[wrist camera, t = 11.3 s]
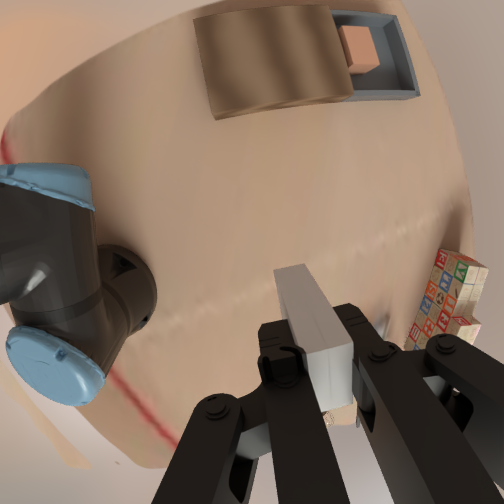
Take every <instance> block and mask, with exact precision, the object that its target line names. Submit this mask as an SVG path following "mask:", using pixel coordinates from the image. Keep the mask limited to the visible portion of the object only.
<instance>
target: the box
mask: <svg viewBox="0 0 504 504" xmlns="http://www.w3.org/2000/svg"><path fill="white" fill-rule="evenodd" d="M330 11H331V14H332V17H333V20H334V23H335V26H336V29H337V31H338V30H339V28H340V27H341V26H361V27H368V28H369V31H370V34H371V37H372V40H373V43H374V46H375V49H376V53H377V56H378V59H379V63H380V65H378V66H377V67H375V68H373V69H372V70H370V71H368V72H367V73H365V74H363V75H350V77H351V81H352V85H353V90H354V95H352V96H350V97H348V98H346V99H344V100H342V101H340V102H349V101H370V100H407V99H411V98H415V97H418V96H420V91H419V87H418V83H417V79H416V75H415V71H414V68H413V64H412V61H411V57H410V54H409V51H408V48H407V44H406V41H405V38H404V35H403V33H402V30H401V27H400V24H399V22H398V19H397V16H396V15H389V14H381V13H373V12H362V11H348V10H330Z"/></svg>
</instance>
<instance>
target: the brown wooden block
mask: <svg viewBox="0 0 504 504" xmlns="http://www.w3.org/2000/svg"><path fill="white" fill-rule="evenodd" d="M193 22H194V27H195V32H196V37H197V42H198V47H199V52H200V57H201V62H202V67H203V72H204V77H205V81H206V86H207V91H208V96H209V101H210V106H211V111H212V114H213V116H214V118H215V120H220V119H225V118H230V117H235V116H240V115H245V114H250V113H256V112H262V111H268V110H274V109H281V108H288V107H296V106H304V105H313V104H323V103H335V102H340V101H342V100H344V99H346V98H348V97H350V96H352V95H354V90H353V85H352V81H351V77H350V74H349V70H348V66H347V62H346V59H345V55H344V52H343V48H342V45H341V42H340V38H339V35H338V32H337V29H336V26H335V23H334V20H333V17H332V14H331V11H330V8H329V6H328V5H294V6H276V7H265V8H255V9H247V10H239V11H233V12H227V13H221V14H215V15H210V16H205V17H201V18H196V19H193Z"/></svg>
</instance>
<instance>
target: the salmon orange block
mask: <svg viewBox="0 0 504 504" xmlns="http://www.w3.org/2000/svg"><path fill="white" fill-rule="evenodd" d="M337 32H338V35H339V38H340V42H341V45H342V48H343V52H344V55H345V59H346V62H347V66H348V70H349V74H350V75H363V74H365V73H367V72H368V71H370V70H372V69H373V68H375V67H377V66H378V65H380V63H379V59H378V56H377V53H376V49H375V46H374V43H373V40H372V37H371V34H370V31H369V28H368V27H361V26H341V27H340V28H339V30H338V31H337Z"/></svg>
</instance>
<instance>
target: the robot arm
mask: <svg viewBox="0 0 504 504" xmlns="http://www.w3.org/2000/svg"><path fill="white" fill-rule="evenodd" d="M94 212H95V206H94V205H93V199H92V189H91V179H90V176H89V174H88V173H87V171H86V170H85V169H83V168H82V167H79V166H76V165H69V164H58V163H19V164H10V165H7V164H4V165H0V305H2V304H5V303H7V302H9V304H10V307H11V311H12V314H13V317H14V320H15V324H16V327H13V328H12V329H11V330H10V331H9V335H8V337H7V341H6V351H7V355H8V357H9V360H10V362H11V364H12V365H13V367H14V368H15V370H16V371H17V373H18V374H19V375H20V376H21V377H22V378H23V380H24V381H25V382H26V383H27V384H29V385H30V386H31V387H32V388H34V389H35V390H36V391H37V392H39V393H40V394H42V395H43V396H45V397H47V398H49V399H51V400H53V401H55V402H58V403H61V404H64V405H69V406H82V405H85V404H88V403H89V402H91V401H92V400H93V399H94V398H95V396H96V395H97V393H98V392H99V390H100V389H101V387H103V386H104V384H105V381H106V380H105V379H106V377H107V375H108V373H109V371H110V369H111V367H112V365H113V363H114V361H115V359H116V357H117V355H118V353H119V351H120V350H121V348H122V346H123V344H124V342H125V340H126V338H127V337H129V336H131V335H132V334H134V333H136V332H137V331H139V330H140V329H142V328H143V327H144V326H145V325H146V324H147V322H148V321H149V320H150V318H151V316H152V314H153V312H154V310H155V307H156V303H157V289H156V284H155V281H154V278H153V276H152V274H151V272H150V270H149V269H148V267H147V266H146V264H145V263H144V262H143V261H142V260H141V259H140V258H139V257H138V256H137V255H135V254H134V253H133V252H131V251H129V250H127V249H125V248H123V247H120V246H116V245H100V246H97V240H96V230H95V218H94ZM274 276H275V281H276V286H277V292H278V297H279V303H280V308H281V314H282V319H283V320H279V321H274V322H269V323H265V324H262V325H261V327H260V329H259V331H258V339H259V346H260V354H261V355H260V356H259V357H258V363H257V364H258V368H259V372H260V376H261V380H262V382H261V384H260V385H259V387H258V388H257V389H255V390H254V391H253V392H251V393H249V394H248V395H245V396H243V397H241V398H238V399H237V398H236V397H234V396H232V395H230V394H224V393H220V394H213V395H210V396H208V397H205V398H204V399H203V400H201V401H200V402H199V403H198V404H197V405H196V407H195V408H194V410H193V413H192V415H191V417H190V419H189V422H188V424H187V426H186V428H185V431H184V433H183V435H182V437H181V439H180V442H179V444H178V446H177V448H176V450H175V453H174V455H173V457H172V459H171V461H170V464H169V466H168V468H167V471H166V472H165V475H164V477H163V479H162V481H161V483H160V486H159V488H158V490H157V492H156V494H155V497H154V499H153V501H152V503H151V504H248V503H249V499H250V494H251V491H252V486H253V482H254V477H255V473H256V469H257V464H258V460H259V457H260V456H262V455H264V454H267V453H269V452H271V451H272V458H273V465H274V473H275V480H276V487H277V495H278V501H279V504H350V501H349V498H348V495H347V492H346V488H345V485H344V482H343V479H342V475H341V472H340V469H339V466H338V463H337V459H336V456H335V453H334V450H333V447H332V444H331V441H330V437H329V434H328V431H327V428H326V425H325V422H324V419H323V416H322V413H321V412H324V411H328V410H332V409H336V408H339V407H343V406H346V405H349V404H353V394H354V397H355V399H356V401H357V417H356V425H357V428H358V427H360V421H361V424H362V426H363V428H364V431H365V433H366V435H367V438H368V440H369V442H370V445H371V447H372V449H373V452H374V454H375V457H376V459H377V461H378V464H379V466H380V469H381V471H382V474H383V476H384V479H385V481H386V483H387V486H388V488H389V491H390V493H391V496H392V499H393V501H394V504H504V499H503V498H502V496H501V494H500V492H499V490H498V489H497V487H496V485H495V484H494V482H495V483H496V484H497V485H499V486H500V487H501V488H502V489H503V490H504V364H502V363H500V362H499V361H497V360H496V359H494V358H492V357H491V356H489V355H487V354H486V353H484V352H482V351H481V350H479V349H478V348H476V347H474V346H473V345H471V344H469V343H468V342H466V341H465V340H463V339H461V338H460V337H458V336H455V335H453V334H447V333H443V334H437V335H435V336H432V337H431V338H430V339H429V340H428V341H427V344H426V348H425V349H420V350H411V351H402V350H401V349H400V347H398V346H397V345H396V344H394V343H392V342H389V341H383V339H382V338H381V337H380V335H379V334H378V333H377V331H376V330H375V329H374V327H373V326H372V325H371V323H370V322H368V319H367V318H366V317H365V316H364V314H363V313H362V312H361V310H360V309H359V308H358V307H356V306H354V305H352V304H350V303H347V304H343V305H339V306H335V307H332V306H331V305H330V303H329V302H328V300H327V298H326V297H325V295H324V294H323V292H322V290H321V289H320V287H319V286H318V284H317V283H316V281H315V279H314V278H313V276H312V275H311V273H310V272H309V270H308V268H307V267H306V265H305V264H300V265H295V266H290V267H285V268H281V269H276V270H274ZM454 388H456V389H457V390H458V391H459V392H456V391H454V390H453V389H454ZM493 481H494V482H493Z"/></svg>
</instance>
